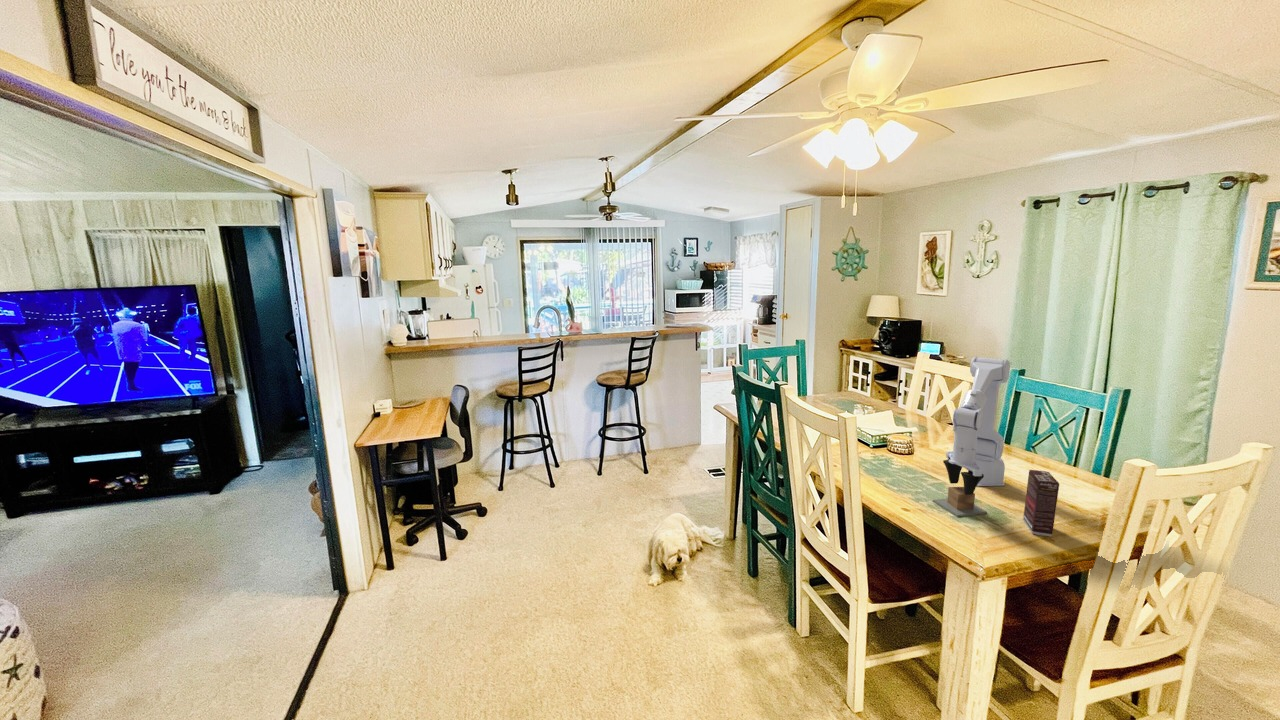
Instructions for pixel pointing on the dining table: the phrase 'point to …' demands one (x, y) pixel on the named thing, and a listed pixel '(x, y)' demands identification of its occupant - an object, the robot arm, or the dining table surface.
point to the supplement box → (1041, 502)
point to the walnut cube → (960, 498)
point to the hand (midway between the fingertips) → (961, 488)
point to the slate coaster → (961, 512)
